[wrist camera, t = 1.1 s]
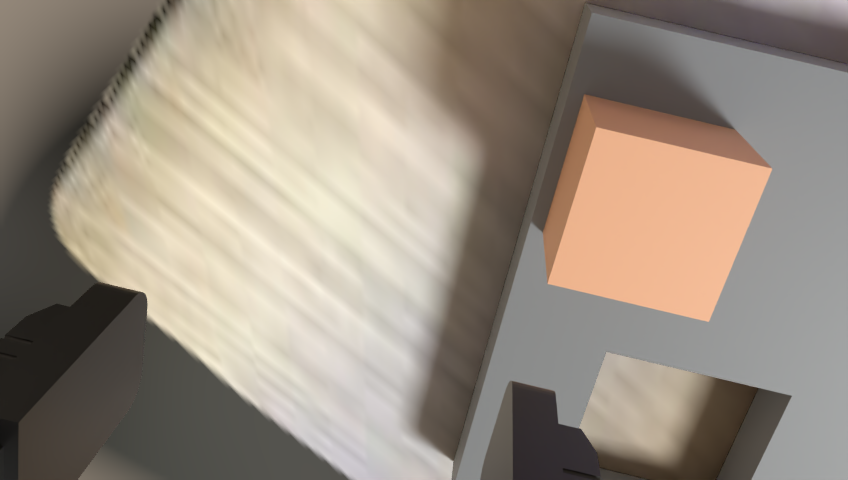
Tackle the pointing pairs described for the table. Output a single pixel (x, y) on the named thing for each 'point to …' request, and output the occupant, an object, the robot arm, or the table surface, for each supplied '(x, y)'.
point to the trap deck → (751, 271)
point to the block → (651, 208)
